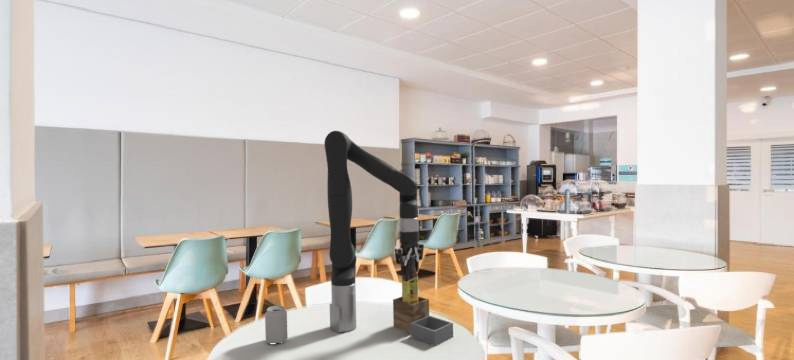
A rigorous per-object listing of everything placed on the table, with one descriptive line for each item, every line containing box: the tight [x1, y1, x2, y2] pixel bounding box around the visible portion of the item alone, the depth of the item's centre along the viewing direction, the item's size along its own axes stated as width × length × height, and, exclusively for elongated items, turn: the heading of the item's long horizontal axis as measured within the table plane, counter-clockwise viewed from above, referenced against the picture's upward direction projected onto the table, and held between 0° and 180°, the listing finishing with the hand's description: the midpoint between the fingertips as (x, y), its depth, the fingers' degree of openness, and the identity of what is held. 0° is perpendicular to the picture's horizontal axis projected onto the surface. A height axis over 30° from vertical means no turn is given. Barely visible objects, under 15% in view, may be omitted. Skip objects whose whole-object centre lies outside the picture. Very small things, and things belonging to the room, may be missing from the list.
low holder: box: [410, 315, 454, 347], centre depth 141 cm, size 10×11×5 cm
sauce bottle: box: [401, 255, 419, 305], centre depth 151 cm, size 7×6×20 cm
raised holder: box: [392, 295, 430, 334], centre depth 151 cm, size 9×10×10 cm
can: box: [264, 305, 288, 344], centre depth 141 cm, size 8×8×12 cm
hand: (410, 273), depth 151 cm, fingers closed on sauce bottle, 5 cm apart
